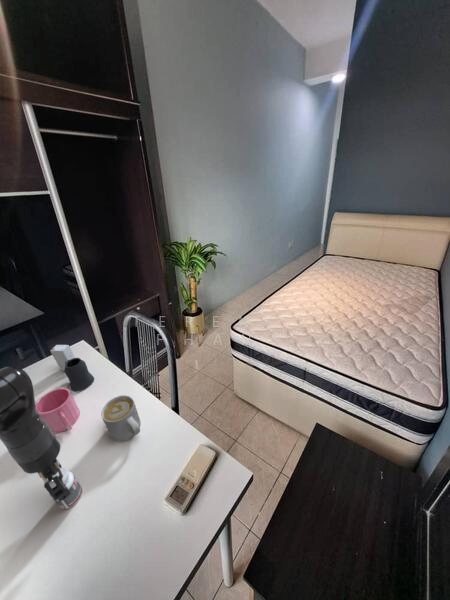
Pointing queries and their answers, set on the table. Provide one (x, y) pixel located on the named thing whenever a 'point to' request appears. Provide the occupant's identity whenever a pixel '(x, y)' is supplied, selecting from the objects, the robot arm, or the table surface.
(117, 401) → the coffee mug
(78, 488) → the pill bottle
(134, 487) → the table surface
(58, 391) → the pink ribbed cup
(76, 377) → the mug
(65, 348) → the cosmetic box
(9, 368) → the robot arm
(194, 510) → the table surface
